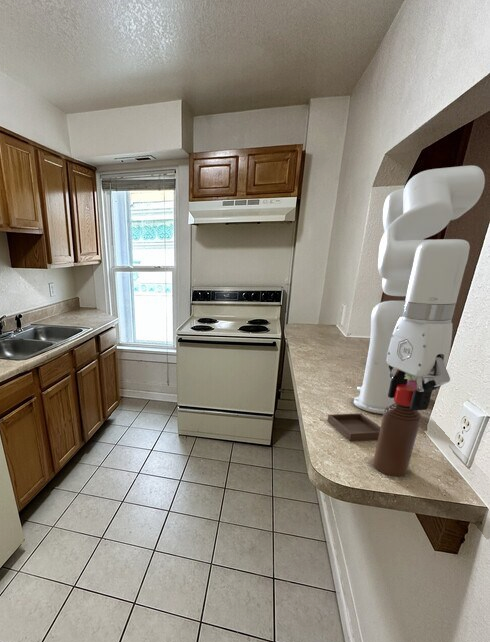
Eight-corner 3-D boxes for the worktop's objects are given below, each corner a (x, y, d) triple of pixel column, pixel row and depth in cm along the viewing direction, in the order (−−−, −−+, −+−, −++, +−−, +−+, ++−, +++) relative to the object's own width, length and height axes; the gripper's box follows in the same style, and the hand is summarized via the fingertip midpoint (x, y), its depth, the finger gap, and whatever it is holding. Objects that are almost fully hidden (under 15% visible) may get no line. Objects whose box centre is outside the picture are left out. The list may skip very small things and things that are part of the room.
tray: (327, 421, 99) (328, 414, 99) (359, 419, 100) (360, 413, 99) (349, 440, 89) (350, 433, 88) (385, 438, 89) (387, 431, 88)
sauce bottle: (366, 460, 80) (382, 386, 74) (393, 458, 80) (411, 385, 74) (384, 477, 74) (403, 398, 68) (414, 475, 74) (435, 396, 68)
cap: (390, 398, 74) (393, 383, 73) (410, 398, 73) (413, 384, 72) (399, 406, 70) (403, 390, 69) (420, 406, 70) (424, 391, 68)
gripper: (377, 306, 72) (362, 389, 79) (446, 321, 56) (421, 423, 62) (412, 305, 73) (394, 387, 79) (490, 319, 57) (461, 420, 63)
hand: (406, 402), depth 71 cm, fingers open, 5 cm apart
